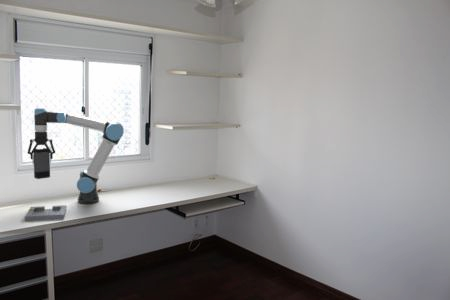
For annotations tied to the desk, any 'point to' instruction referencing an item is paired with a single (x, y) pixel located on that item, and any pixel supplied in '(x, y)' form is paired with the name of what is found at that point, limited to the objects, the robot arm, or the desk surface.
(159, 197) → the desk surface
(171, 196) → the desk surface
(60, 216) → the chassis
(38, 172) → the electronic device
